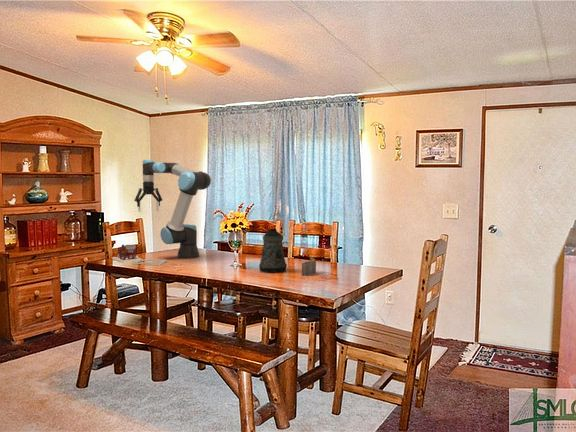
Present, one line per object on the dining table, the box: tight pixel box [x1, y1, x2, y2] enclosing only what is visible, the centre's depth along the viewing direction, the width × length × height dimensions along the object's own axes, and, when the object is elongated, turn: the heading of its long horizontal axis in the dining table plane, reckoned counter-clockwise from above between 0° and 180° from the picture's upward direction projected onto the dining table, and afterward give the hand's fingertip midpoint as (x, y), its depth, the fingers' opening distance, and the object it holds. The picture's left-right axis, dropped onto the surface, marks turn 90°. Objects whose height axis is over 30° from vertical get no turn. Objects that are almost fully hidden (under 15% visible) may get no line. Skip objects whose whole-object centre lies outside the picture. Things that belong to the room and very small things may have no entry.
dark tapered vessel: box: [258, 228, 288, 274], centre depth 304 cm, size 16×19×25 cm
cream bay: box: [111, 256, 143, 264], centre depth 341 cm, size 18×13×2 cm
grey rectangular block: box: [301, 257, 317, 277], centre depth 293 cm, size 11×3×10 cm, turn 146°
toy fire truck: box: [116, 244, 137, 260], centre depth 340 cm, size 7×12×10 cm, turn 101°
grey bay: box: [131, 259, 167, 266], centre depth 327 cm, size 18×13×2 cm
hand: (148, 211), depth 362 cm, fingers open, 13 cm apart
